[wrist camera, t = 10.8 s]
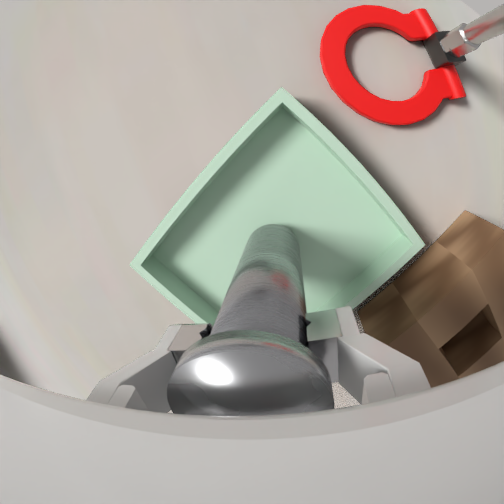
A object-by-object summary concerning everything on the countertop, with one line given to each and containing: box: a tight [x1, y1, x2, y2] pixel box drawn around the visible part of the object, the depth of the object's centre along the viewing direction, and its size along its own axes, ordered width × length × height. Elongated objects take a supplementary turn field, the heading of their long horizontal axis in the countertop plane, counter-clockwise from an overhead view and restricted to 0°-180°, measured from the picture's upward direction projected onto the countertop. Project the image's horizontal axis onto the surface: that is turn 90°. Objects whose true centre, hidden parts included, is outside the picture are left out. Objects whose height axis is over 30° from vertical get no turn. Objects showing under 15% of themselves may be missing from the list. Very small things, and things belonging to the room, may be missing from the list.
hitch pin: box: [167, 224, 334, 416], centre depth 12 cm, size 4×4×12 cm
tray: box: [130, 87, 425, 326], centre depth 17 cm, size 14×12×2 cm
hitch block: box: [358, 211, 504, 388], centre depth 16 cm, size 11×11×5 cm
